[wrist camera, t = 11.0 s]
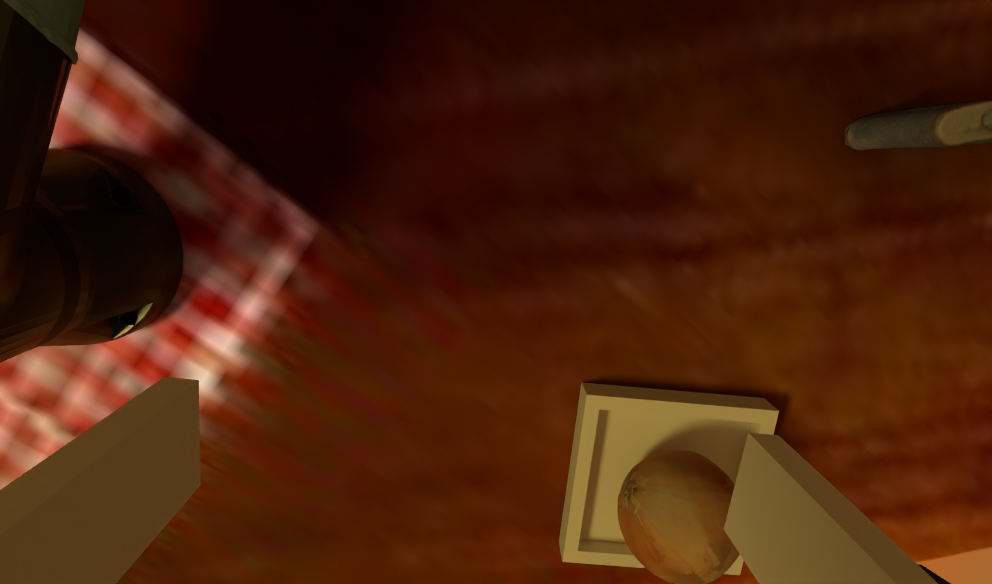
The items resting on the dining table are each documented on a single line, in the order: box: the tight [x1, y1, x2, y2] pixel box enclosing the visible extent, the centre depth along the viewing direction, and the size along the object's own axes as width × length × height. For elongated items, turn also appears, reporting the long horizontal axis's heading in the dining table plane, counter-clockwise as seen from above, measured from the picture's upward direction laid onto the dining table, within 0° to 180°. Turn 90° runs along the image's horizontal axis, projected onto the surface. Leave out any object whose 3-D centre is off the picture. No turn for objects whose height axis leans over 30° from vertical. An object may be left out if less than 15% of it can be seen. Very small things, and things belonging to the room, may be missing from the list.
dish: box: [559, 383, 779, 575], centre depth 47 cm, size 16×16×2 cm
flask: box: [845, 99, 992, 150], centre depth 36 cm, size 9×3×11 cm, turn 92°
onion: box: [617, 450, 740, 584], centre depth 42 cm, size 10×10×10 cm
